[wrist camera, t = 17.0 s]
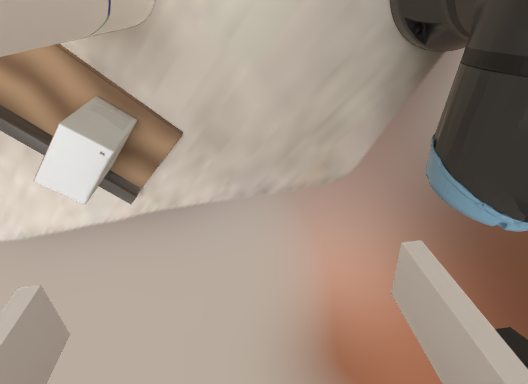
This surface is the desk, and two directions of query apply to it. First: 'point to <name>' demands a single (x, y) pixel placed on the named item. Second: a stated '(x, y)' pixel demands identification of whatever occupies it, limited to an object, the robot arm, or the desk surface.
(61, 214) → the desk surface
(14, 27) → the container
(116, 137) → the small box
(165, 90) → the desk surface
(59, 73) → the shelf board
